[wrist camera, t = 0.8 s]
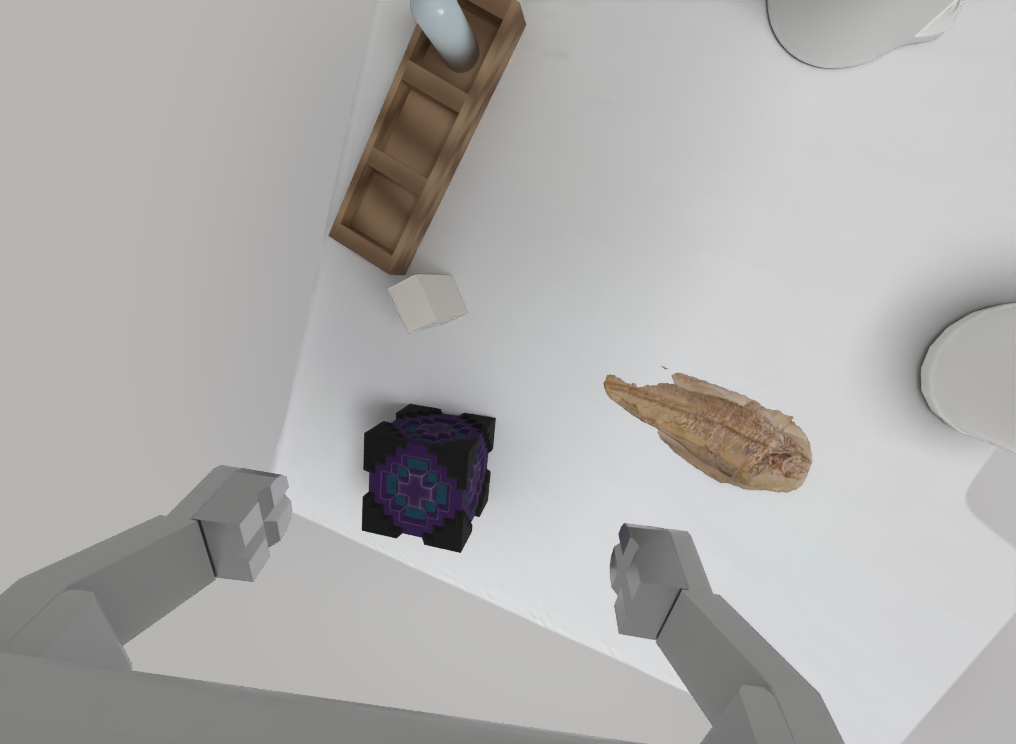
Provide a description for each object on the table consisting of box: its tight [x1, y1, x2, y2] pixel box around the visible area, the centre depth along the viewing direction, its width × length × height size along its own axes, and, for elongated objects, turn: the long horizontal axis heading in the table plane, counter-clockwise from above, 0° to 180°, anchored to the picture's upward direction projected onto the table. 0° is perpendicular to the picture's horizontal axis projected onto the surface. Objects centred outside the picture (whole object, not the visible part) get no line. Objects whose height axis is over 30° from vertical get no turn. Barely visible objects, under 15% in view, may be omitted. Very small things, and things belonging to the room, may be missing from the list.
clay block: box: [388, 274, 468, 333], centre depth 50 cm, size 4×5×11 cm
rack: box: [329, 0, 526, 275], centre depth 50 cm, size 30×9×4 cm, turn 150°
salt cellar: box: [410, 0, 480, 73], centre depth 43 cm, size 4×4×9 cm
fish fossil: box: [604, 366, 812, 493], centre depth 52 cm, size 26×10×1 cm, turn 69°
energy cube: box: [362, 404, 496, 553], centre depth 54 cm, size 12×12×12 cm
